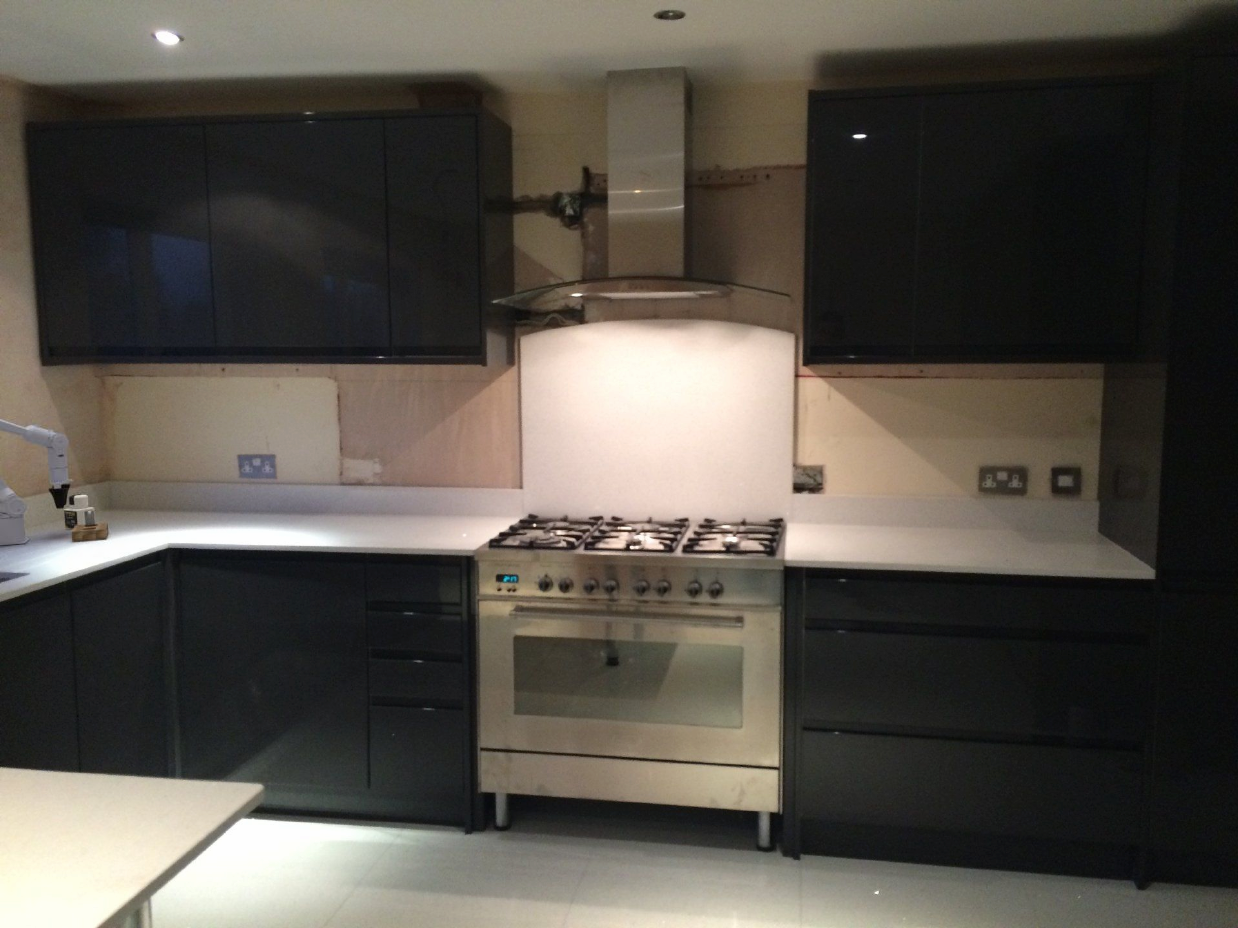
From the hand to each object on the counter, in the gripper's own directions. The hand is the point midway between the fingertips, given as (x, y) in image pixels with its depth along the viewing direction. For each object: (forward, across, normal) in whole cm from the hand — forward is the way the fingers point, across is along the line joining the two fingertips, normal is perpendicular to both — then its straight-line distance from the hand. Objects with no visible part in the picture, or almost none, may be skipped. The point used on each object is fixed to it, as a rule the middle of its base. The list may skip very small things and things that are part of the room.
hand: (61, 506), depth 346 cm
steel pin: (+9, -6, -9) cm, 14 cm away
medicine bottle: (+10, +14, -4) cm, 18 cm away
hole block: (+10, -9, -9) cm, 16 cm away
